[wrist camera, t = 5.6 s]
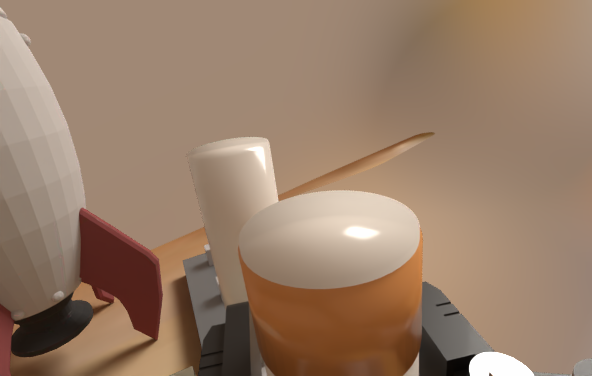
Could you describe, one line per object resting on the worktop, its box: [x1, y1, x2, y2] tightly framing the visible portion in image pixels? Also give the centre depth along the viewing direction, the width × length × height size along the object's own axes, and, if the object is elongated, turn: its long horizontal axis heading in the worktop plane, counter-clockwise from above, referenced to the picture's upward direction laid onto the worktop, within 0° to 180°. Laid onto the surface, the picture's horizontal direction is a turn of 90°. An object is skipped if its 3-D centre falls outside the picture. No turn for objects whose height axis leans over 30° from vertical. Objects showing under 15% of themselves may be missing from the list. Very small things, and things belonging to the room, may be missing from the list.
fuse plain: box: [187, 137, 278, 368], centre depth 17 cm, size 4×4×12 cm
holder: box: [183, 244, 267, 376], centre depth 19 cm, size 7×27×3 cm, turn 24°
